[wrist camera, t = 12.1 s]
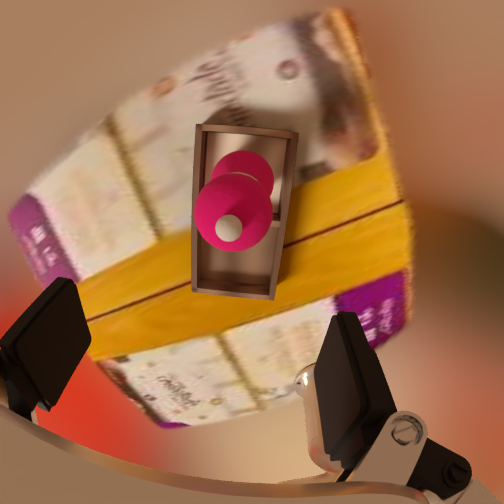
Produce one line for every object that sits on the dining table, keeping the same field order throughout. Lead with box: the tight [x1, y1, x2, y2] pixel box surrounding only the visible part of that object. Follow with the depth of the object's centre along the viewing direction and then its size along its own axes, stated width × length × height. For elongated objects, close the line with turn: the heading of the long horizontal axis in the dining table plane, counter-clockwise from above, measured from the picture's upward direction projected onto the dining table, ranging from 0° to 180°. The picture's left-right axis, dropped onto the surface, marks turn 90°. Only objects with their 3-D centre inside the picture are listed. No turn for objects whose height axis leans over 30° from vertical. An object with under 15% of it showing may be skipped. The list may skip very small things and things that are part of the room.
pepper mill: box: [194, 150, 274, 252], centre depth 27 cm, size 7×7×20 cm
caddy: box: [191, 124, 299, 300], centre depth 37 cm, size 12×23×4 cm, turn 175°
